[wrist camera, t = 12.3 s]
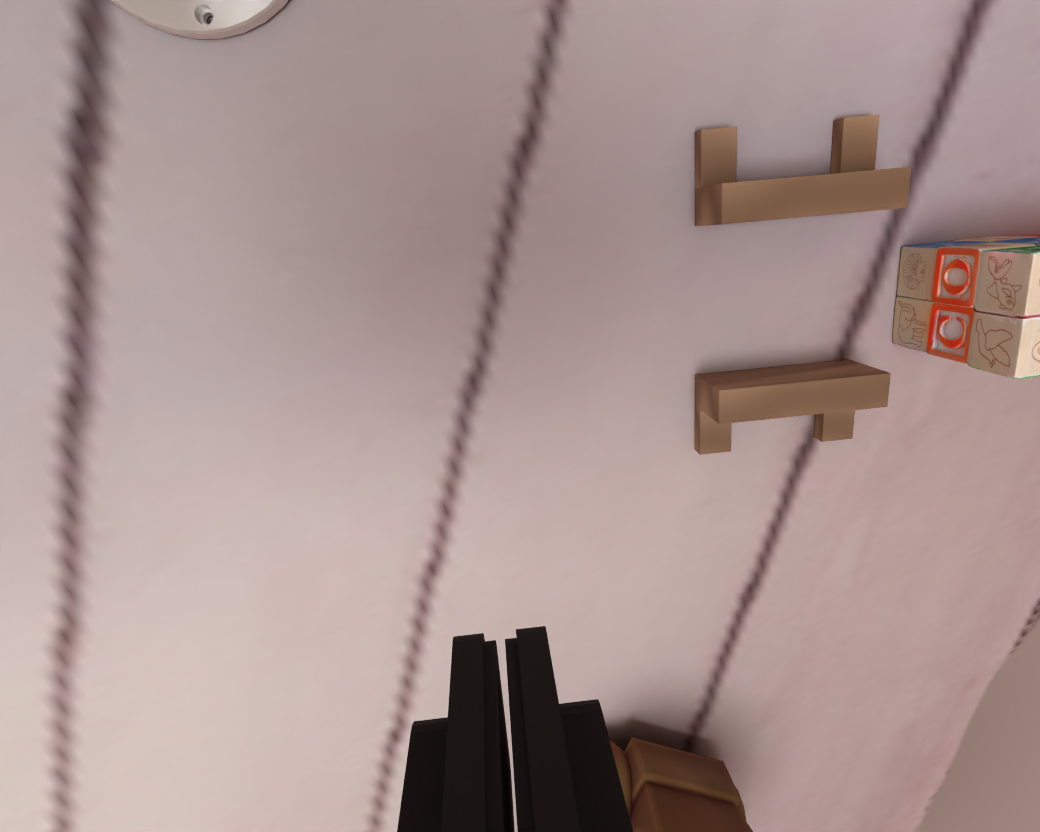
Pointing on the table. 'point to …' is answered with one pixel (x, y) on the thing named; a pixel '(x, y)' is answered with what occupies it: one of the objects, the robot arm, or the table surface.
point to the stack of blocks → (973, 302)
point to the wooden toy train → (677, 790)
